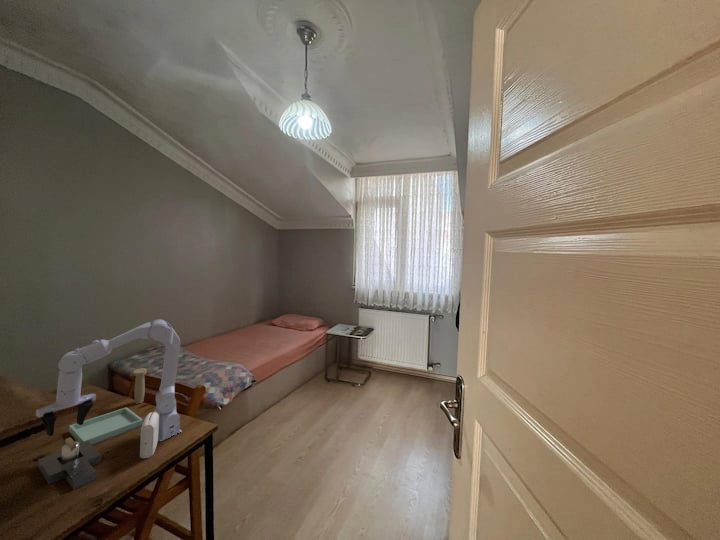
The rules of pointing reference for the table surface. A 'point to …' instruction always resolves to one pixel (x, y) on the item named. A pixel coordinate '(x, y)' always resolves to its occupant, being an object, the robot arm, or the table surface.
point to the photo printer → (149, 435)
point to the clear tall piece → (70, 451)
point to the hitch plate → (71, 466)
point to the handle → (139, 385)
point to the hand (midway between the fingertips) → (65, 429)
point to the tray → (105, 426)
